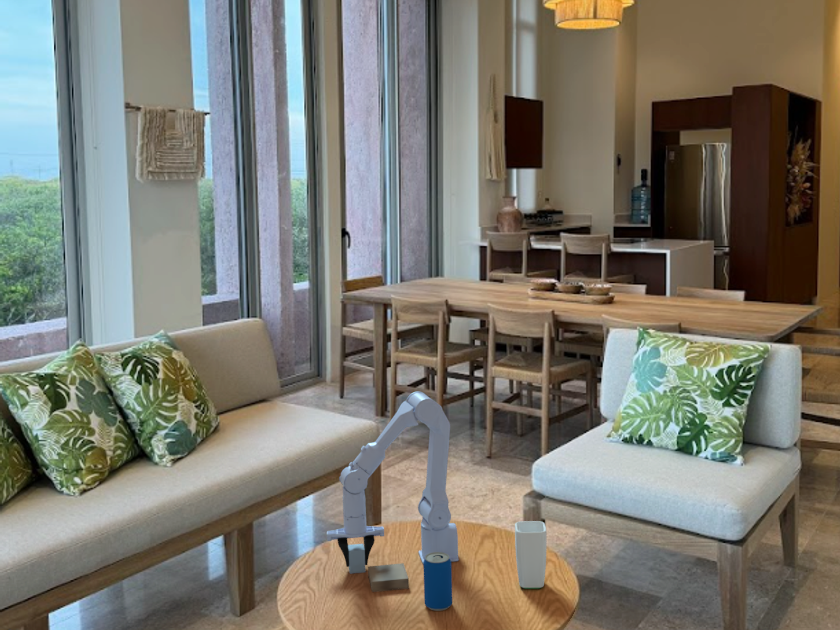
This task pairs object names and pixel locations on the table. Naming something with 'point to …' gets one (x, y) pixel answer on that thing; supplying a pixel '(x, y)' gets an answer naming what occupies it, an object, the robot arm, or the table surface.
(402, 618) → the table surface
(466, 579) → the table surface
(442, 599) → the beverage can
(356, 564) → the slate-blue block
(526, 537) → the cup
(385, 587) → the taupe plinth
